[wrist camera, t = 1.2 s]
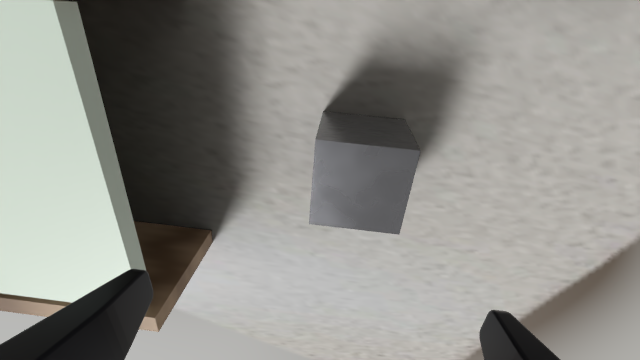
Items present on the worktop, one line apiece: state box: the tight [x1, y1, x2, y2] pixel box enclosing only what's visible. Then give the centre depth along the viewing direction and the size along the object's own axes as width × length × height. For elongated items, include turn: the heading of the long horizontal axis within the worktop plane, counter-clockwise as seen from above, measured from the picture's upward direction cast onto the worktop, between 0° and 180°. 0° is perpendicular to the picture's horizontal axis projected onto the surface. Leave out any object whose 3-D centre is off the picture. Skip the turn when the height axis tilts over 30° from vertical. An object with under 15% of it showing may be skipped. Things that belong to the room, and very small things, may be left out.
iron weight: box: [309, 111, 420, 234], centre depth 18 cm, size 5×5×5 cm
